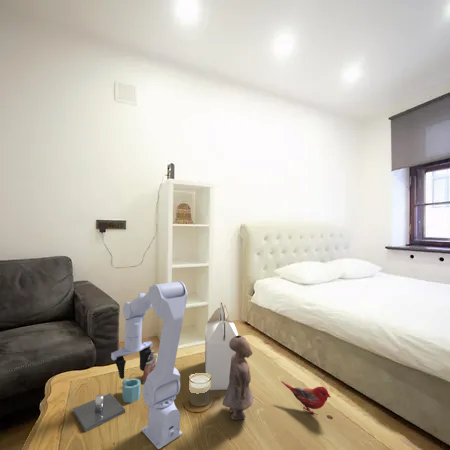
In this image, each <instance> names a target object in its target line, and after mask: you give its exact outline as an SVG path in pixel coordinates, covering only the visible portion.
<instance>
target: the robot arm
mask: <svg viewBox="0 0 450 450" xmlns="http://www.w3.org/2000/svg"><path fill="white" fill-rule="evenodd" d="M188 297H189V293H188V290H187V287H186V285H185V283H184V282H183V281H182V280H177V281H173V282H165V283H158V284H157V283H154V284H151V286H149V289H148V291H147V293H144V292H141V293H138V294H137V296H136V297H134V298H133V299H132V301H124V303H123V305H122V315H123V318H124V319H125V320H124V321H125V323H124V324H125V326H124V347H122V348H120V349H118V350H115V351H113V352H111V353H110V355H111V356H110V358H111V360H112V361H114V364H115V365H116V368H117V372H118V376H119V379H121V380H125V368H126V363H127V360H125V356H129V355H132V354H136V353H139V370H141V371H142V372H143V371H144V369H145V365H146V362H147V360H148V358H149V356H150V354H151V351H152V350H151V349H152V348H153V344H154V343H153V341H151V340H149V341H145V342H142V337H143V334H142V333H143V322H144V320H145V315H146V312H148V311H149V310H151V308H153V310H154V312H155V315H156V317H158V318H160V319H163V323H162V328H161V335H160V340H159V346H158V352H157V358H156V368H155V369H154V370H153V371H152V372H151V373H150V374H149V375H148V376H147V379H146V382H145V383H143V387H142V390H141V391H142V392H141V393H142V399H143V401H144V403H145V405H146V406H147V407H148V419H147V420H148V422H147V425H145V426H144V427H143V428H141V431H142V433H143V435H145V436H146V437H147V439H148V440H149V441H150V442H151V443H152V444H153V445H154V446H155V448H156V449H158V450H159V449H161V448H164V447H165V446H166V445H168V444H169V443H171V442H173V441H174V440H175V439H177V438H179V437H181V436H182V434H183V431H182V430H181V428H180V427H181V422H180V421H181V414H180V413H181V412H180V411H179V409H178V408H177V406H176V404H175V400H176V399H177V395H179V393H180V390H181V373H180V372H179V370H178V369H177V368H176V367H175V364H176V359H177V354H178V349H179V342H180V338H181V332H182V328H183V322H184V314H185V311H186V307H187V303H188V302H187V301H188Z"/></svg>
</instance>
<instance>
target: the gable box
mask: <svg viewBox="0 0 450 450" xmlns="http://www.w3.org/2000/svg"><path fill="white" fill-rule="evenodd" d="M238 335H239V333H238V330H237V327H236V325H235V323H234V321H233V320H232V318H231V317H230V315H229V313H228V310H227V307H226V304H224V305H223V302H220V307H218V308H217V309H215V311H214V312H213V313H212V315H211V316H210V318H209V319H208V321H207V323H205V346H204V353H205V354H204V371H205V372H206V373H208V374H210V375H211V377H212V379H211V387H210V390H209V391H223V390H224V391H226V390H227V388H228V384H229V375H230V366H231V358H232V355H233V354H235V353H236V352H235V351H233V350H232V349H231V348H230V346H229V343H230V340H231V339H232V338H233V337H235V336H238Z"/></svg>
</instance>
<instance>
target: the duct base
mask: <svg viewBox="0 0 450 450" xmlns="http://www.w3.org/2000/svg"><path fill="white" fill-rule="evenodd" d="M72 413H73V415H74V416H75V418H76V419H77V421H78V423H79V425H80V426H81V428H82V429H83V431H84V433H87V432H88V431H90V430H93V429H94V428H97V427H99V426H100V425H103V424H104V423H107V422H108V421H110V420H111V421H112V420H113V419H114V418H117V417H119V416H122V415H123V414H125V413H126V409H125V408H124V406H123V405H122V404H121V403H120V402H119V401H118V400H117V399H116V397H114V395H113V394H112V393H111V392H109V393H106V394H103V393H99V394H97V395H95V399H93V400H90V401H88V402H85V403H83V404H81V405H79V406H76V407H73V408H72Z"/></svg>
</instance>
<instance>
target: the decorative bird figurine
mask: <svg viewBox="0 0 450 450" xmlns="http://www.w3.org/2000/svg"><path fill="white" fill-rule="evenodd" d="M280 382H281V383H282V385H284V386H285V387H286V388H287V389H289V390H290V392H291V393H292V394H293V396H294V397H295V398H296V399H297V400H298V401H299V402H300V403H301V404H302V405H303V406H304V407H303V408H302V409H303V410H305V411H307V412H309V414H312V415H316V416H319V414H318V413H315V411H312V410H318V409H321V408H322V407H323V406H324V405H325V403H326V402H327V401H328V398H332V397H331V395H330V393H329V391H328V389H327V388H326V387H324V386H316V387H314V388H308V387H293V386H292V385H289V384H288V383H286V382H284V381H282V380H281V381H280ZM311 409H312V410H311Z"/></svg>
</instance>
